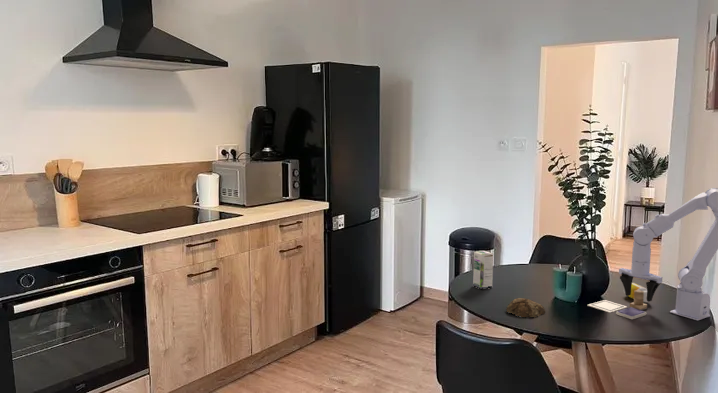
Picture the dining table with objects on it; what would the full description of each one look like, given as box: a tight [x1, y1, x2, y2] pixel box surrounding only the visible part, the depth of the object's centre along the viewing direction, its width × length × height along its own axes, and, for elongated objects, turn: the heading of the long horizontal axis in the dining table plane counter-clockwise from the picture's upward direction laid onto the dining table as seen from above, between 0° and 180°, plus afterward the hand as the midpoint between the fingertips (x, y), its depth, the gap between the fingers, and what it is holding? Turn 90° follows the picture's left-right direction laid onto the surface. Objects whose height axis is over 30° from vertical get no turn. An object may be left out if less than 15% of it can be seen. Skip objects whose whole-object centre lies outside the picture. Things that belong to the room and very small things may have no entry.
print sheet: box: [587, 299, 628, 314], centre depth 196 cm, size 9×10×1 cm
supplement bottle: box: [622, 281, 648, 303], centre depth 202 cm, size 6×6×10 cm
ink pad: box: [615, 306, 647, 320], centre depth 188 cm, size 6×8×1 cm
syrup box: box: [472, 250, 494, 287], centre depth 220 cm, size 6×6×14 cm
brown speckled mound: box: [505, 297, 546, 318], centre depth 192 cm, size 13×12×5 cm
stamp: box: [629, 290, 648, 311], centre depth 193 cm, size 4×4×6 cm
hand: (638, 297), depth 193 cm, fingers open, 7 cm apart
